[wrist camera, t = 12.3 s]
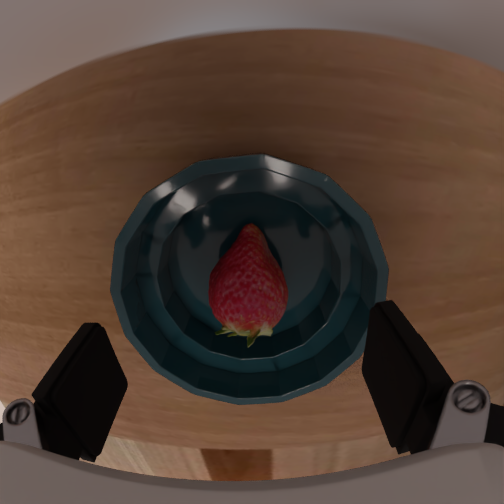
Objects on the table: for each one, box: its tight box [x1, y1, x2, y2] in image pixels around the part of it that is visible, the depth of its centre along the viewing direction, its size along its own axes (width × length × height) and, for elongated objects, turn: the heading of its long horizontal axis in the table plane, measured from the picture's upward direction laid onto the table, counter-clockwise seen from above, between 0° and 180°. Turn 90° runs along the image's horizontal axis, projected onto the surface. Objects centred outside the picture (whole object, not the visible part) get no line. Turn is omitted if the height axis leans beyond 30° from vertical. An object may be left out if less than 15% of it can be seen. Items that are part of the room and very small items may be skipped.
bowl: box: [110, 153, 389, 405], centre depth 16 cm, size 13×13×5 cm
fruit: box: [208, 223, 288, 347], centre depth 15 cm, size 4×6×5 cm
